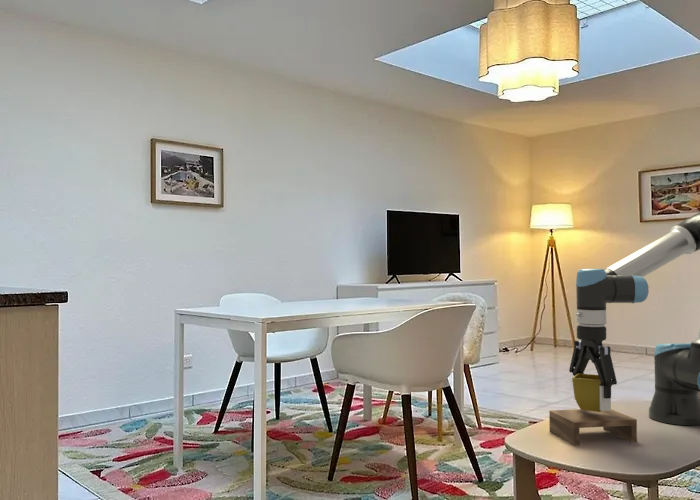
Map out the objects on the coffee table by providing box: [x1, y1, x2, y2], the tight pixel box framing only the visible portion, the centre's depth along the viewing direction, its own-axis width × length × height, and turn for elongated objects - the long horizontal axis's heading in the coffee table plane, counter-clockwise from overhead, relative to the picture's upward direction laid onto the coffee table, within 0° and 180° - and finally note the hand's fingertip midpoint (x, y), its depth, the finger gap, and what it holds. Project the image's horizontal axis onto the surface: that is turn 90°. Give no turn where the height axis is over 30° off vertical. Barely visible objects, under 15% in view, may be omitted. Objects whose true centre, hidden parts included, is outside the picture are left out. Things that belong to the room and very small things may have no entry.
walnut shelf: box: [548, 408, 638, 447], centre depth 168 cm, size 18×13×6 cm
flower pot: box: [571, 373, 601, 412], centre depth 168 cm, size 9×9×9 cm
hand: (592, 404), depth 168 cm, fingers closed on flower pot, 12 cm apart
